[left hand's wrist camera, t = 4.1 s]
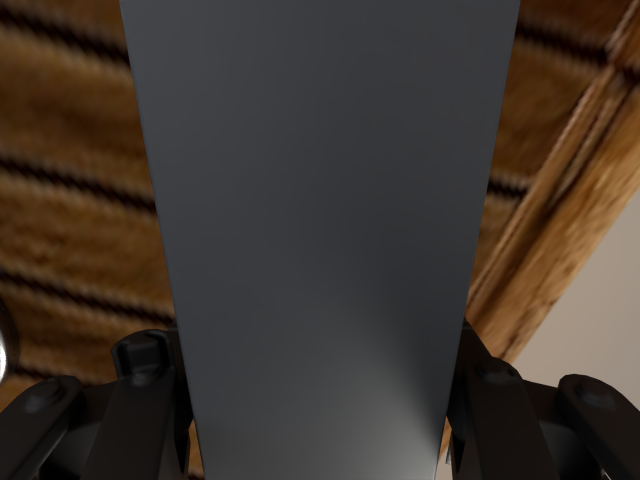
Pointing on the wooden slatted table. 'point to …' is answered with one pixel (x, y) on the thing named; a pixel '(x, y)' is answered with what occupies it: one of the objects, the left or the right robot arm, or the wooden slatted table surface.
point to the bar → (319, 218)
